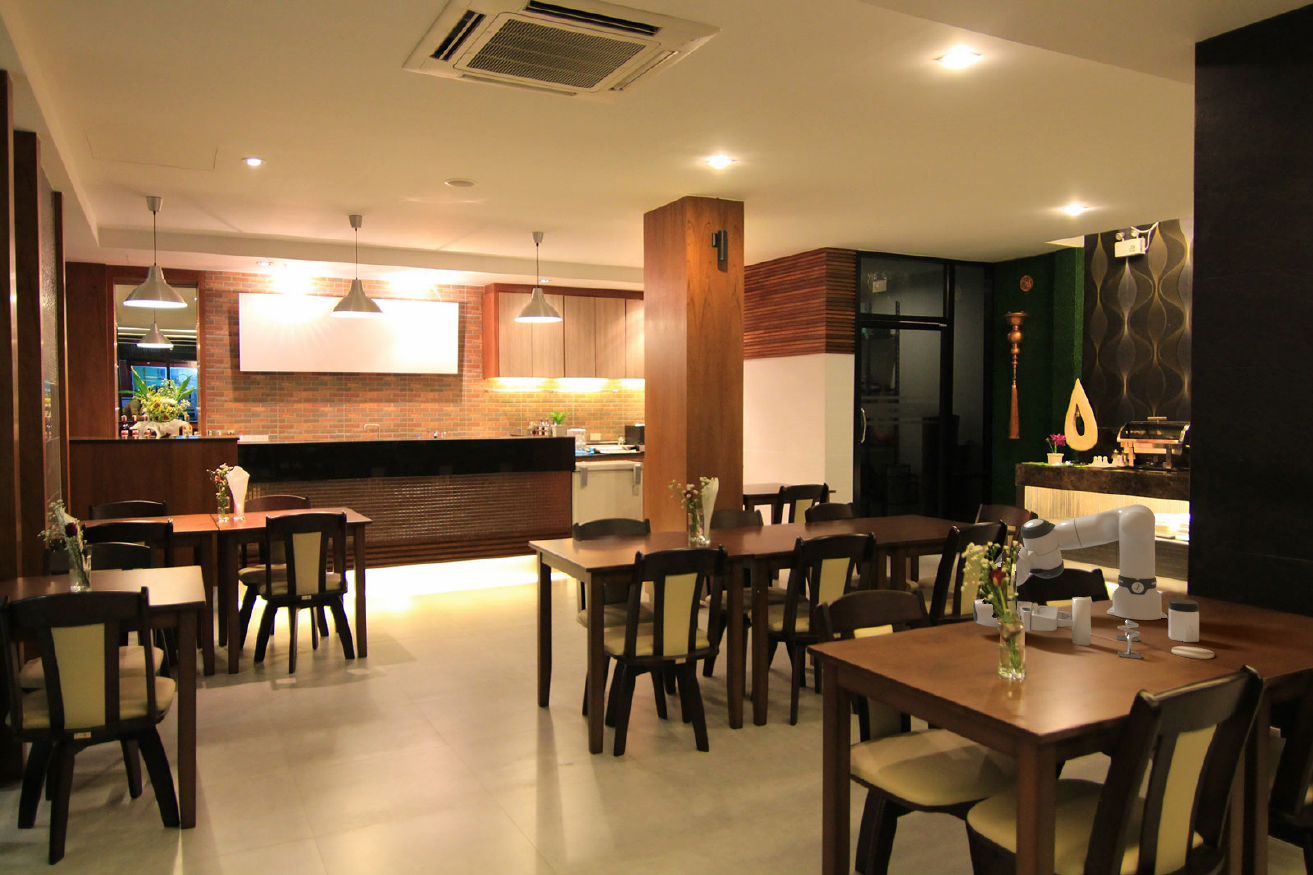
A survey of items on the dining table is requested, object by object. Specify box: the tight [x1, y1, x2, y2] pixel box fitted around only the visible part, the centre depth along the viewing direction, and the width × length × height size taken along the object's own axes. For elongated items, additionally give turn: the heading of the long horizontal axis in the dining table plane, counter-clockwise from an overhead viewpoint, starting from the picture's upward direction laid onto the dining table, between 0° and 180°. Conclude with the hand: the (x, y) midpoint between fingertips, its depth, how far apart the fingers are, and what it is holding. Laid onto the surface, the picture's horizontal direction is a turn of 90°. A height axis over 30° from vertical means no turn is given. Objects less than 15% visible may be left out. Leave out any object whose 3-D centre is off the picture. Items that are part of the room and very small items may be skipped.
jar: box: [1167, 598, 1200, 643], centre depth 286 cm, size 9×8×12 cm
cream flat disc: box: [1170, 645, 1215, 660], centre depth 269 cm, size 11×11×1 cm
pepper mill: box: [1071, 596, 1092, 647], centre depth 282 cm, size 5×5×14 cm
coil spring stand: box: [1116, 618, 1142, 660], centre depth 276 cm, size 25×6×6 cm, turn 154°
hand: (1073, 619), depth 282 cm, fingers open, 8 cm apart
